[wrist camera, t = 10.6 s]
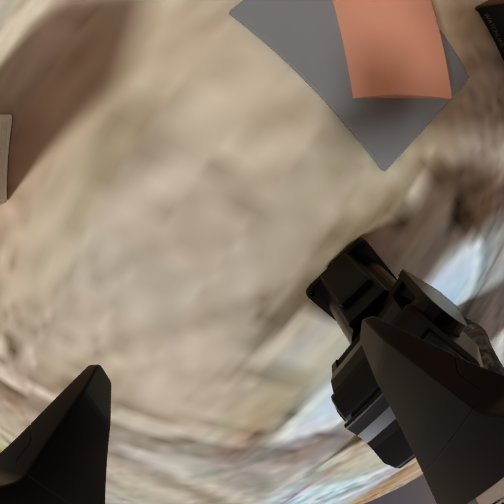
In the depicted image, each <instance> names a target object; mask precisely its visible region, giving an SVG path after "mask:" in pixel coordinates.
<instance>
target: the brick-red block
mask: <svg viewBox="0 0 504 504" xmlns="http://www.w3.org/2000/svg"><path fill="white" fill-rule="evenodd" d="M333 3H334V7H335V11H336V15H337V19H338V23H339V27H340V31H341V36H342V40H343V45H344V50H345V54H346V60H347V65H348V70H349V76H350V82H351V88H352V94H353V99H355V98H393V99H431V98H442V99H452V96H451V88H450V81H449V75H448V69H447V63H446V58H445V53H444V48H443V44H442V39H441V35H440V31H439V27H438V24H437V20H436V16H435V13H434V10H433V6H432V3H431V0H333Z"/></svg>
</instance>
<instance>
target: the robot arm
mask: <svg viewBox="0 0 504 504" xmlns="http://www.w3.org/2000/svg"><path fill="white" fill-rule="evenodd" d="M361 243H363V245H362V246H361V247H360V244H361ZM398 276H399V278H398V280H397V279H396V278H395V276H394V275H393V274H392V272H391V271H390V270H389V269H388V267H387V266H386V265H385V264H384V262H383V261H382V260H381V259H380V257H379V256H378V255H377V254H376V252H375V251H374V250H373V249H372V247H371V246H370V245H369V244H368V243H367V241H365V240H364V239H363V238H360V239H358V240H357V241H356V242H355V243H354V244H353V245H352V246H351V247H350V248H349V249H348V250H347V251H346V252H345V253H344V254H342V255H341V256H340V257H339V258H338V259H337V260H336V261H335V262H334V263H333V264H331V265H330V266H329V267H328V268H327V269H326V270H325V271H324V272H323V273H322V274H321V276H320V277H319V278H318V279H317V280H316V281H315V282H314V283H313V284H311V285H310V286H309V287H308V288H307V290H306V294H307V296H308V298H310V299H311V300H312V301H313V302H314V303H316V304H317V305H318V306H319V307H320V308H321V309H323V310H324V311H325V312H326V313H327V314H329V315H330V316H331V317H332V318H333V319H335V320H336V321H337V322H338V324H339V326H340V327H341V329H342V331H343V332H344V334H345V336H346V338H347V339H348V341H349V343H350V344H351V345H350V346H349V347H348V348H347V350H346V351H345V352H344V353H343V355H342V356H341V357H340V358H339V359H338V360H336V361H335V362H334V363H333V365H332V379H331V383H332V388H333V392H334V393H333V394H332V396H331V398H332V402H333V403H334V405H335V407H336V410H337V412H338V413H339V415H340V416H341V417H342V419H343V420H344V421H345V422H346V423H345V425H344V426H345V428H346V429H348V430H349V431H351V432H353V433H354V434H356V435H358V436H359V437H360V438H361V439H363V440H364V441H365V442H366V443H367V444H368V445H369V446H370V447H371V448H372V449H373V450H374V452H375V453H376V454H377V455H378V456H379V458H380V459H381V460H382V461H383V462H384V463H385V464H388V465H390V466H392V467H395V468H401V467H403V466H404V465H406V464H407V463H408V462H410V461H411V460H412V459H413V458H415V457H416V459H417V461H418V463H419V465H420V468H421V470H422V472H424V473H423V474H424V476H425V479H426V481H427V483H428V485H429V487H430V489H431V492H432V494H433V496H434V498H435V500H436V503H437V504H468V503H469V502H471V501H472V500H474V499H475V498H476V500H477V502H478V503H479V504H504V375H502V374H499V373H497V372H494V371H491V370H488V369H486V368H483V364H482V359H481V356H480V352H479V348H478V346H477V344H476V343H475V342H474V341H473V340H472V339H471V338H470V337H468V336H467V335H466V334H465V333H464V332H463V330H464V329H465V328H466V326H467V323H466V322H465V320H464V318H463V316H462V314H461V313H460V311H459V309H458V308H457V306H456V305H455V304H454V303H453V302H451V301H450V300H449V299H448V298H447V297H445V296H444V295H443V294H442V293H441V292H439V291H438V290H437V289H435V288H434V287H432V286H430V285H429V284H427V283H425V282H424V281H422V280H421V279H419V278H417V277H416V276H414V275H412V274H410V273H409V272H407V271H405V270H404V269H402V271H401V272H400V274H399V275H398ZM312 291H315V292H314V293H312V294H310V293H311V292H312ZM110 419H111V382H110V380H109V378H108V376H107V375H106V373H105V372H104V370H103V368H102V367H101V366H100V365H89V366H88V367H87V368H86V369H85V370H84V371H83V372H82V373H81V374H80V375H79V376H78V377H77V378H76V379H75V380H74V381H73V382H72V383H71V384H70V385H69V386H68V387H67V388H66V389H65V390H64V391H63V392H62V393H61V394H60V395H59V396H58V397H57V398H56V399H55V400H54V401H53V402H52V403H51V404H50V405H49V406H48V407H47V408H46V409H45V410H44V411H43V412H42V413H41V414H40V415H39V416H38V417H37V418H36V419H35V420H34V421H33V422H32V423H31V425H29V426H28V427H27V428H26V429H25V430H24V431H23V432H22V433H21V434H20V435H19V436H18V437H17V438H16V439H15V440H14V441H13V442H12V443H11V444H10V445H9V446H8V447H6V448H5V449H4V450H3V451H2V452H1V453H0V504H105V486H106V467H107V453H108V442H109V432H110Z"/></svg>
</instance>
